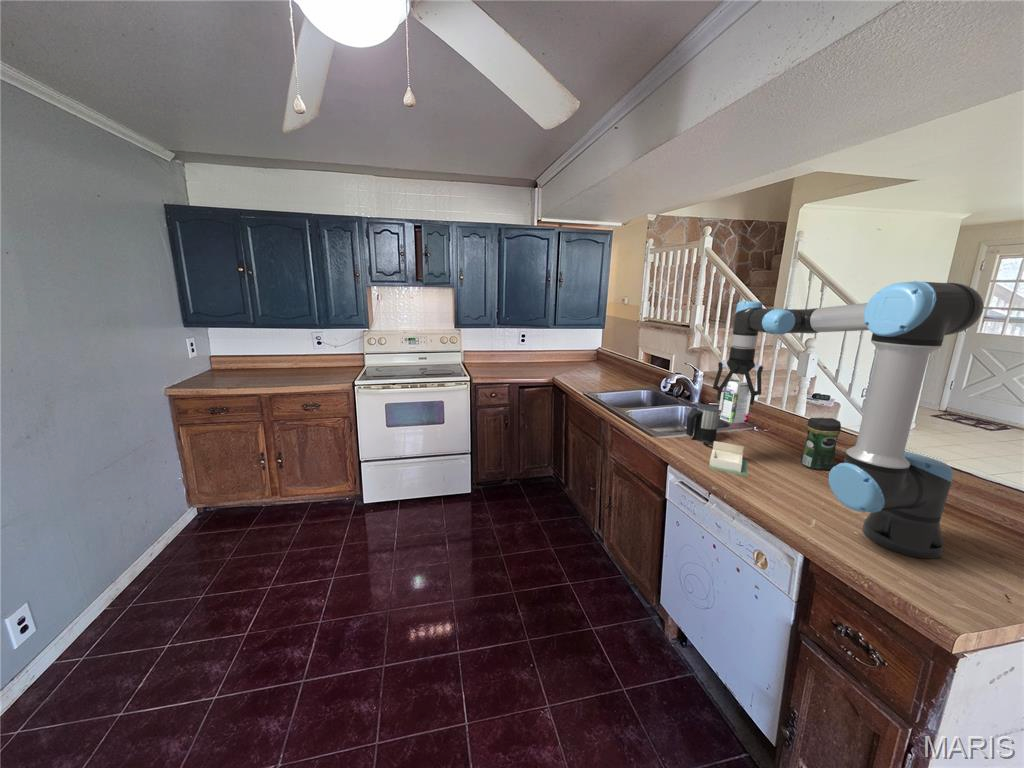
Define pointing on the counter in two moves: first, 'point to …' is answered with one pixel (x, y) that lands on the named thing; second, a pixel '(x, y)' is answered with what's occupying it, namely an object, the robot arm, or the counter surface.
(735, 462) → the cream hollow box
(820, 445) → the coffee jar
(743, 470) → the board
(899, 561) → the counter surface
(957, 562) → the counter surface
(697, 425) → the milk frother
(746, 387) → the syrup box
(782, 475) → the counter surface
